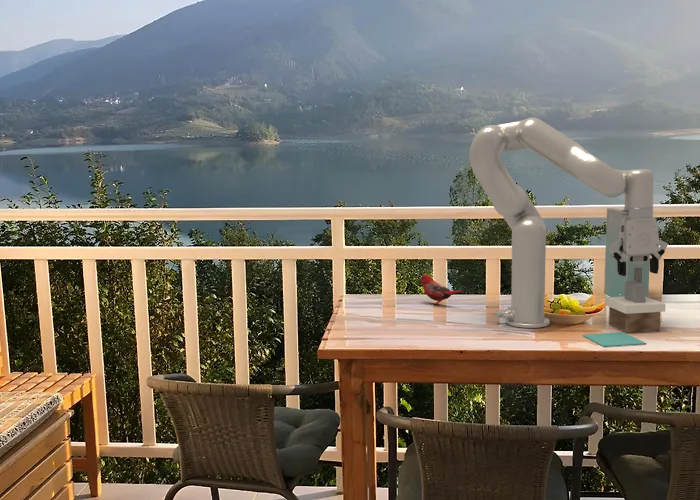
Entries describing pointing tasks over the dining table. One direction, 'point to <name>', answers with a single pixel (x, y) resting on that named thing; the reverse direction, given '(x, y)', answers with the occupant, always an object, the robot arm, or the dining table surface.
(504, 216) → the robot arm
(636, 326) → the box
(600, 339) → the mat
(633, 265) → the device
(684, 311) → the dining table surface
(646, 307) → the lid
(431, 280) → the decorative bird figurine
